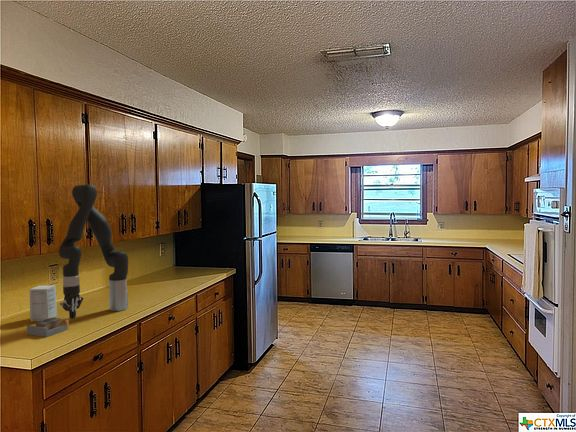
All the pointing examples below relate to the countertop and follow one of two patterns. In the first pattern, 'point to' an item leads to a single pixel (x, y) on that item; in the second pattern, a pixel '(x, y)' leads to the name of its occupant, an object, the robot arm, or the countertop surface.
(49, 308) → the supplement box
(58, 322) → the grey block
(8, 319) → the countertop surface
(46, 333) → the bay
